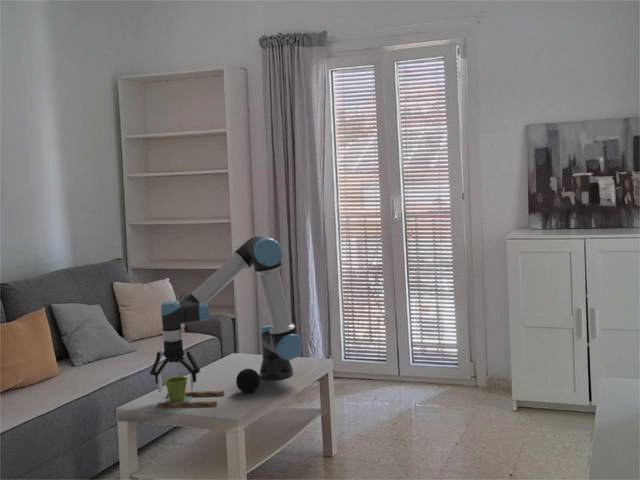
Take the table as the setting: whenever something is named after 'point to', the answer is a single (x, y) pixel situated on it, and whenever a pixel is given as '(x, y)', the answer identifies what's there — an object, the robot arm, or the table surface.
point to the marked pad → (181, 401)
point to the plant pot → (176, 388)
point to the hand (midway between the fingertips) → (176, 390)
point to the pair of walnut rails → (193, 404)
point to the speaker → (248, 380)
